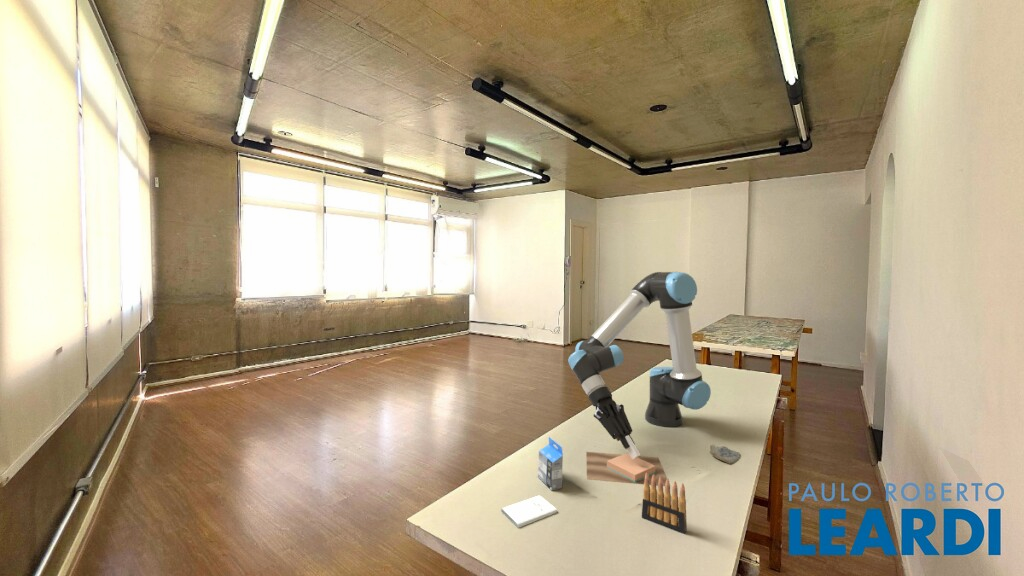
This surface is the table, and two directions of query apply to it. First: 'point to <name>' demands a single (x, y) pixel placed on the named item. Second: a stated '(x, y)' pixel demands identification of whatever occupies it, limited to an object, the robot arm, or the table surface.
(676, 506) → the ammunition clip
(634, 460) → the tile
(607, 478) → the board
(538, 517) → the external hard drive
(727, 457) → the ceramic fragment
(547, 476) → the label tape box
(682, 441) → the table surface
